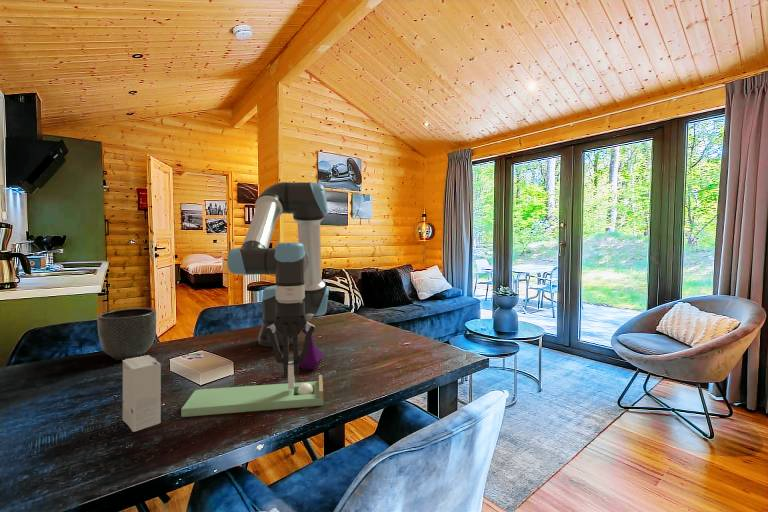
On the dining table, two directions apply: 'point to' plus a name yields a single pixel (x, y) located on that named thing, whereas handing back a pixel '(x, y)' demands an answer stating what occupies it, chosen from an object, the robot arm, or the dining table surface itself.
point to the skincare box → (141, 392)
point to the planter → (127, 332)
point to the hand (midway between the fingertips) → (291, 386)
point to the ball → (305, 389)
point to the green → (251, 399)
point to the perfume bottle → (311, 351)
